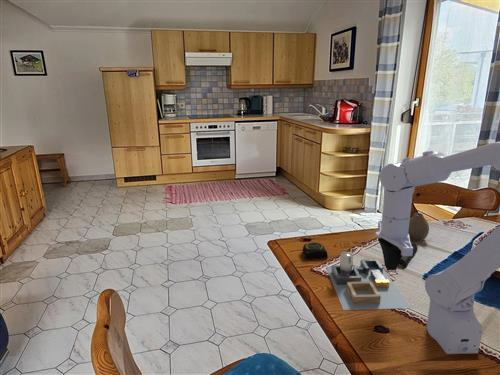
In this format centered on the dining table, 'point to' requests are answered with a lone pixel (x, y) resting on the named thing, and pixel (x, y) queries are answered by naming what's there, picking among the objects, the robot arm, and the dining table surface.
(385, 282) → the key
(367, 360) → the dining table surface
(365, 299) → the brown piece
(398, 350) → the dining table surface
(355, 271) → the socket
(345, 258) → the frosted capsule tube
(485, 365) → the dining table surface
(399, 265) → the electric trimmer
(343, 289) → the board
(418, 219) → the vase
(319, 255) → the tape measure
